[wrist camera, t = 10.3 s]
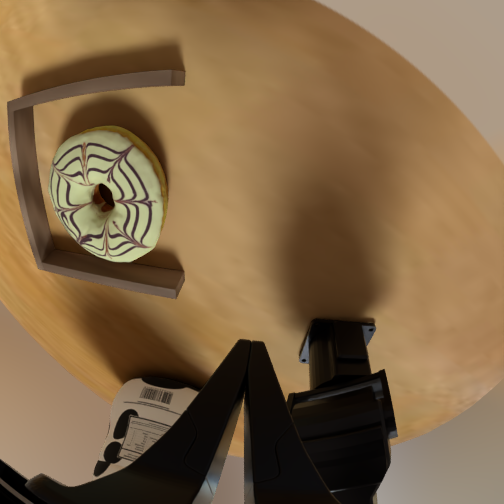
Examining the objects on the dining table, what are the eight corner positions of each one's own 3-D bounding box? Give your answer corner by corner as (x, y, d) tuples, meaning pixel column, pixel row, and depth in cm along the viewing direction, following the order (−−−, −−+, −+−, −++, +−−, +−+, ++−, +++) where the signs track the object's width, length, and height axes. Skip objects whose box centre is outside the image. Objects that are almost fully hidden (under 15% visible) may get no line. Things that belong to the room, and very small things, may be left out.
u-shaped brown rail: (184, 280, 25) (176, 299, 22) (51, 255, 25) (38, 268, 23) (185, 71, 15) (171, 69, 13) (26, 97, 16) (7, 102, 14)
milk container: (182, 426, 44) (161, 510, 29) (106, 377, 37) (66, 470, 22) (259, 413, 37) (246, 524, 22) (171, 352, 31) (124, 494, 16)
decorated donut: (86, 243, 24) (64, 265, 21) (60, 134, 18) (30, 146, 15) (183, 247, 23) (168, 274, 20) (167, 113, 17) (143, 120, 14)
